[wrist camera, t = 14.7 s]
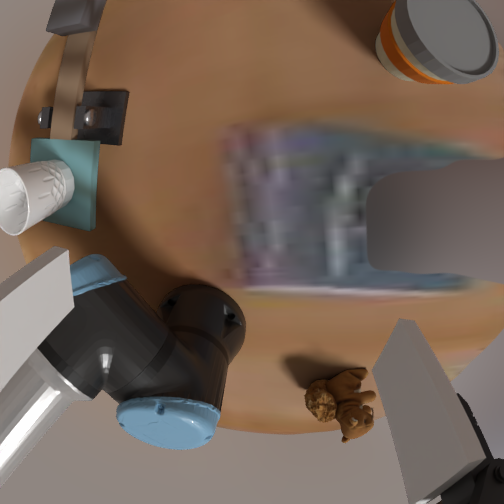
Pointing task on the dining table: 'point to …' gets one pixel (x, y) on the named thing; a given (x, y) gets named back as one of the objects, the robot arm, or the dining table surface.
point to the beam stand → (96, 116)
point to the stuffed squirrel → (343, 402)
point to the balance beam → (73, 111)
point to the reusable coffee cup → (437, 41)
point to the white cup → (33, 193)
